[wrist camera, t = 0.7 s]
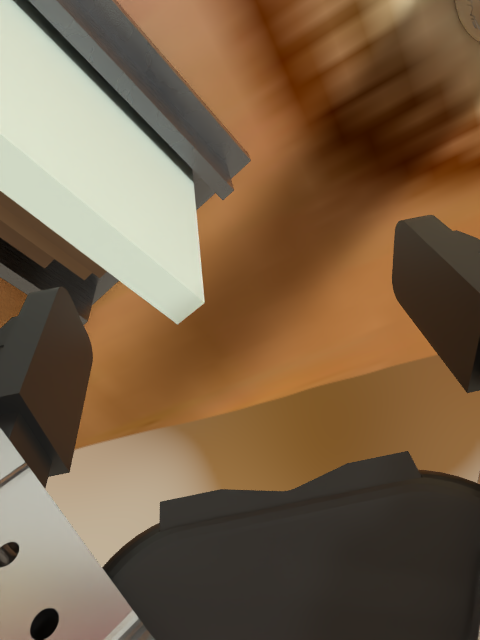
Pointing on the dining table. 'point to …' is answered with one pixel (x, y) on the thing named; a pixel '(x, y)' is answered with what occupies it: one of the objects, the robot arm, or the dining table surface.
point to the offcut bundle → (41, 240)
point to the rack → (152, 105)
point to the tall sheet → (94, 166)
